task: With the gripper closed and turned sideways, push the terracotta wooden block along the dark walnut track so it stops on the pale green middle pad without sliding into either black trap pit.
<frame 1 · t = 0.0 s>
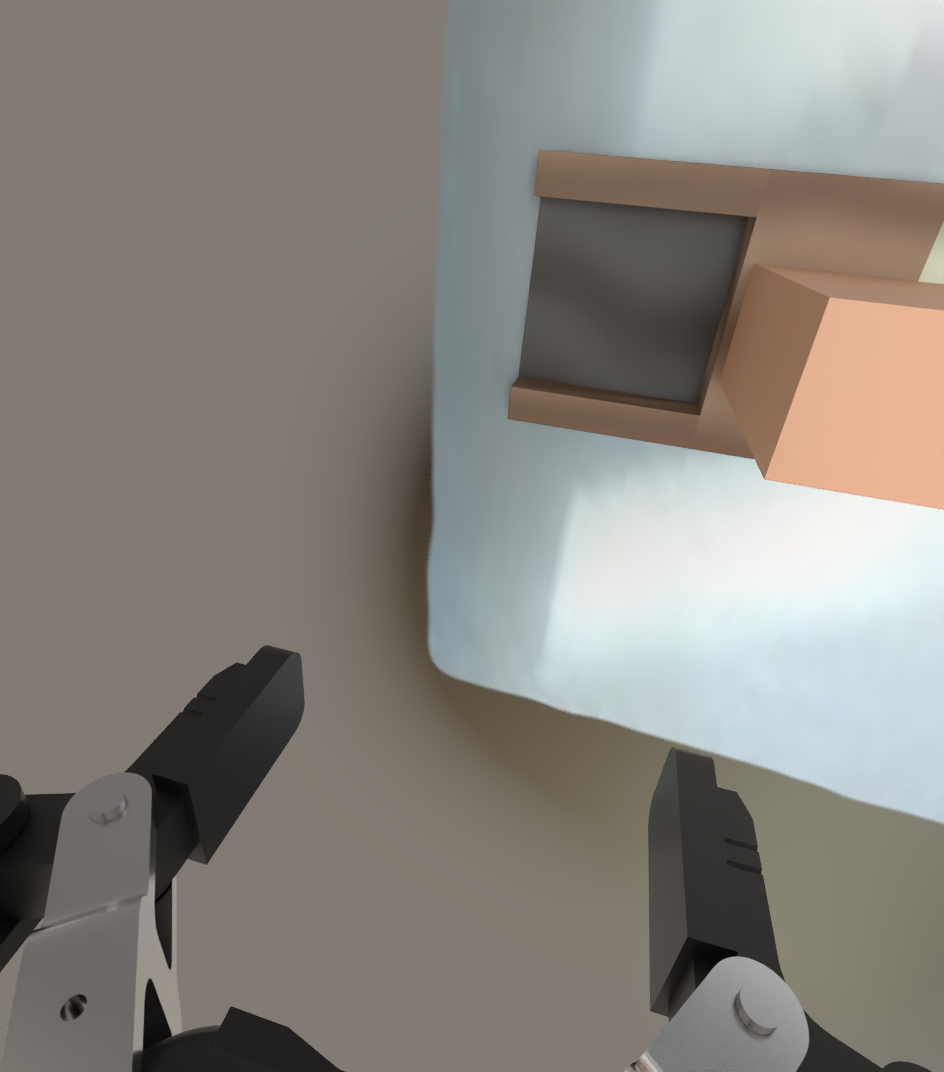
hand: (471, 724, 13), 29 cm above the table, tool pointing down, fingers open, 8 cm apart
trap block: (827, 337, 31), point 3 cm above the table, touching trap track
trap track: (871, 334, 33), on the table
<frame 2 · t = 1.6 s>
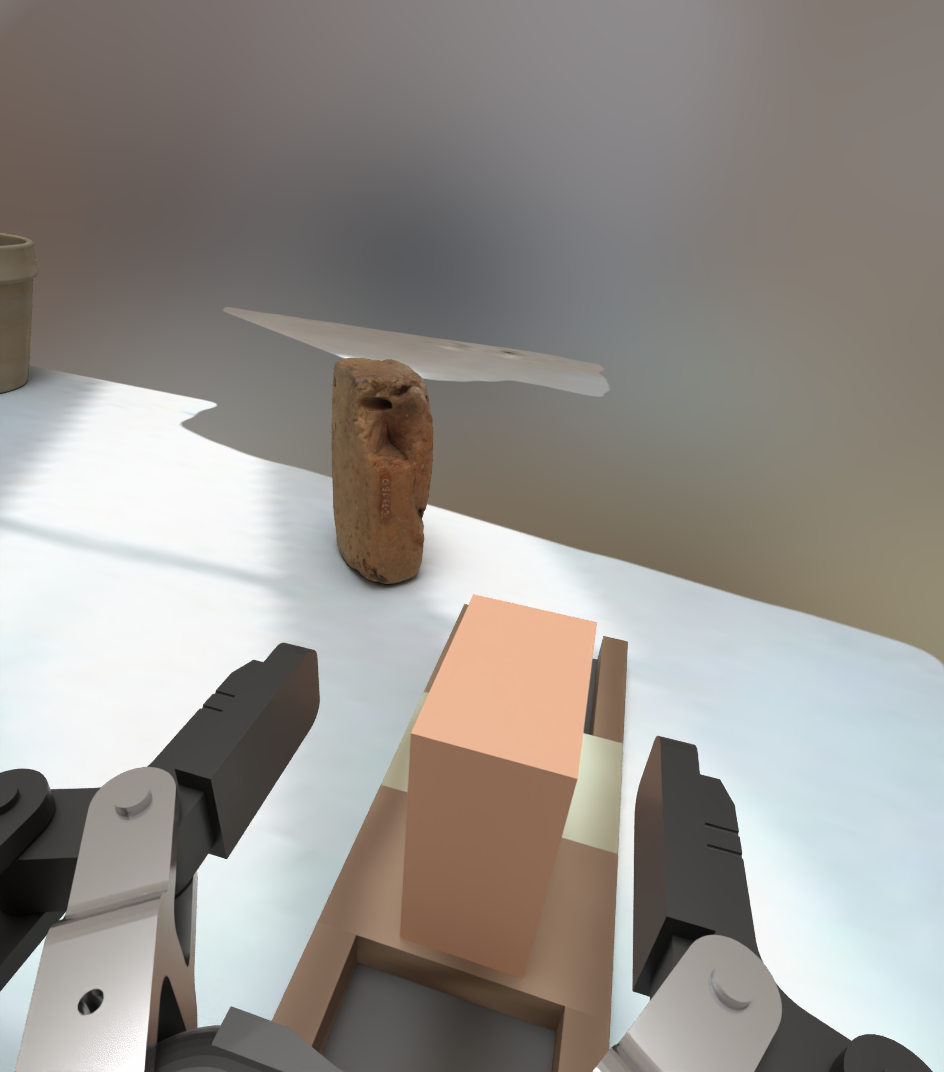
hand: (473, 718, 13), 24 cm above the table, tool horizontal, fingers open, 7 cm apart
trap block: (482, 867, 32), point 3 cm above the table, touching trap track
block: (380, 562, 62), on the table
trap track: (489, 849, 36), on the table
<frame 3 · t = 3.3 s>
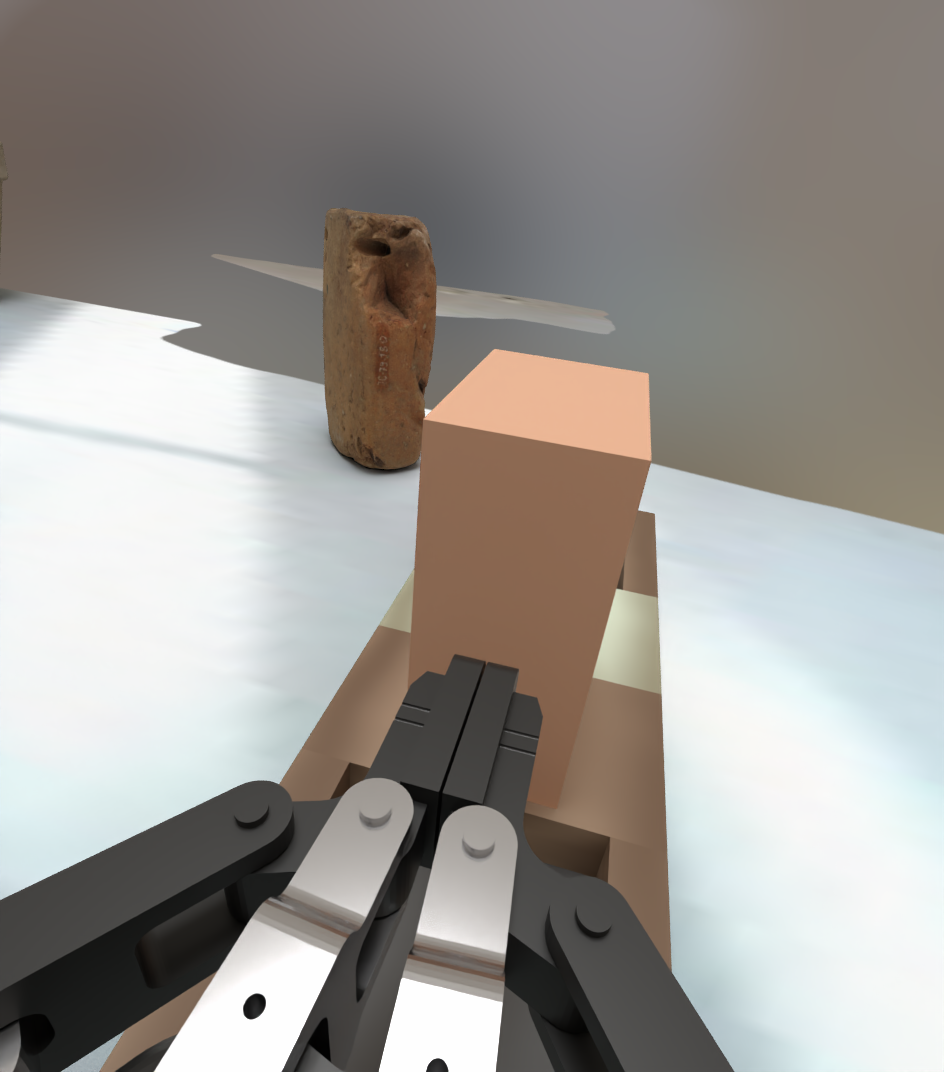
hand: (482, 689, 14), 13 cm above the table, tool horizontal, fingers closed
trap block: (502, 702, 26), point 3 cm above the table, touching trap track
block: (376, 453, 56), on the table
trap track: (506, 702, 30), on the table
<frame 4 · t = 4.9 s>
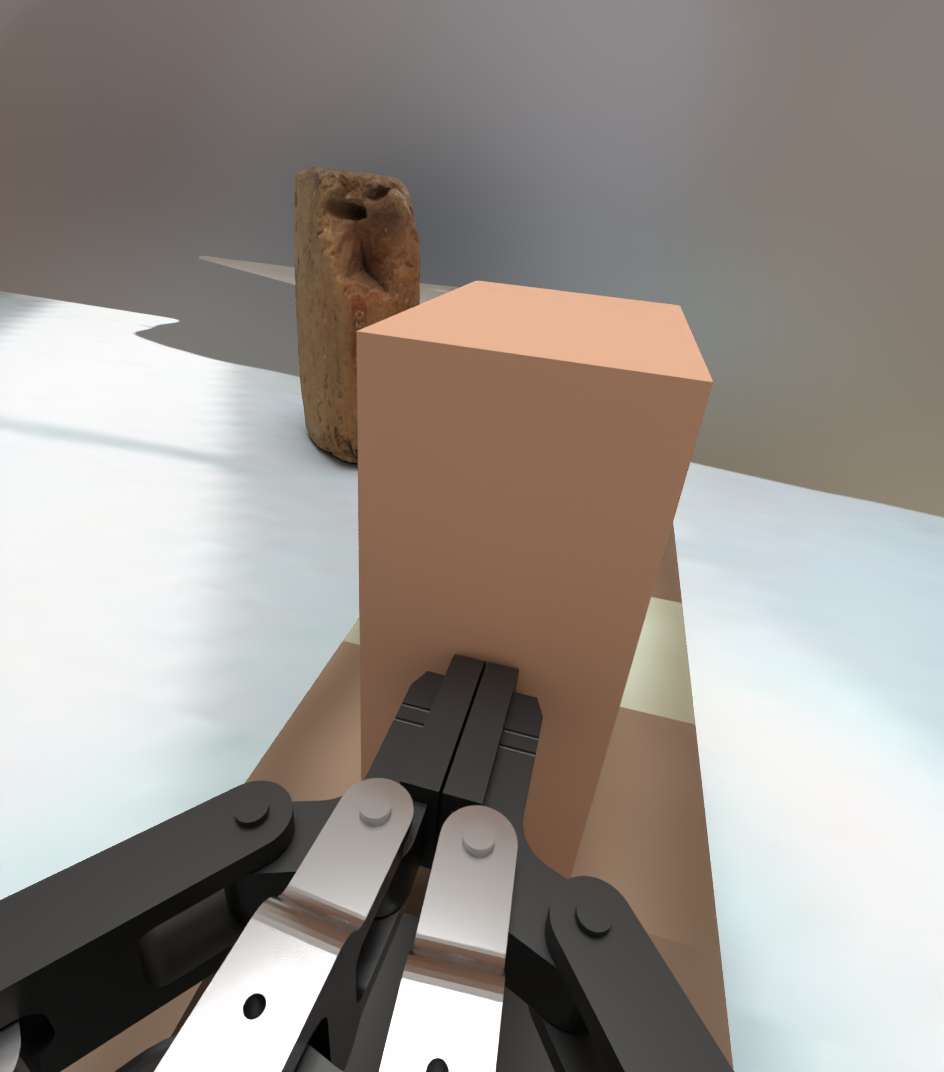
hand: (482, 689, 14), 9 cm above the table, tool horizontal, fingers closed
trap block: (494, 738, 21), point 3 cm above the table, touching gripper
block: (358, 447, 51), on the table
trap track: (501, 734, 25), on the table
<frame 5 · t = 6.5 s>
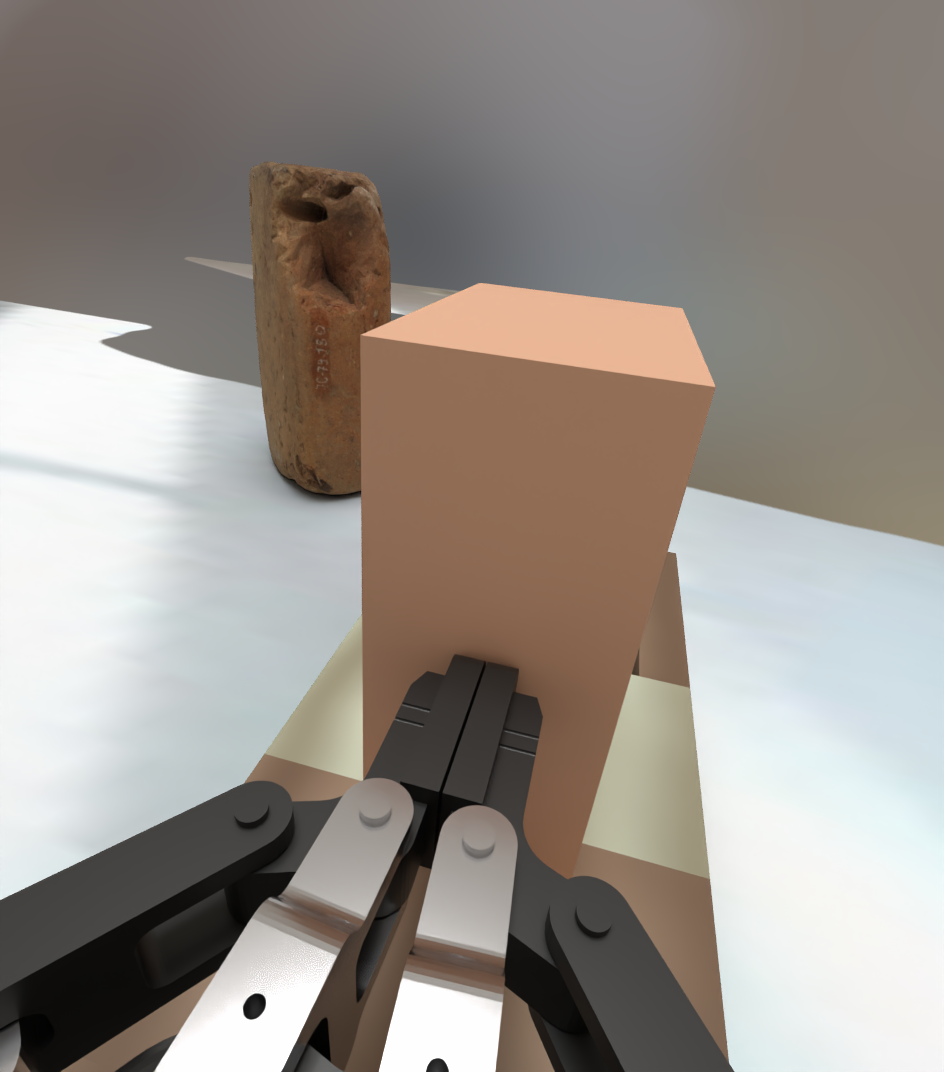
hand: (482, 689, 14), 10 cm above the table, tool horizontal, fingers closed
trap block: (495, 739, 21), point 3 cm above the table, touching gripper, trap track
block: (327, 473, 46), on the table
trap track: (464, 869, 20), on the table
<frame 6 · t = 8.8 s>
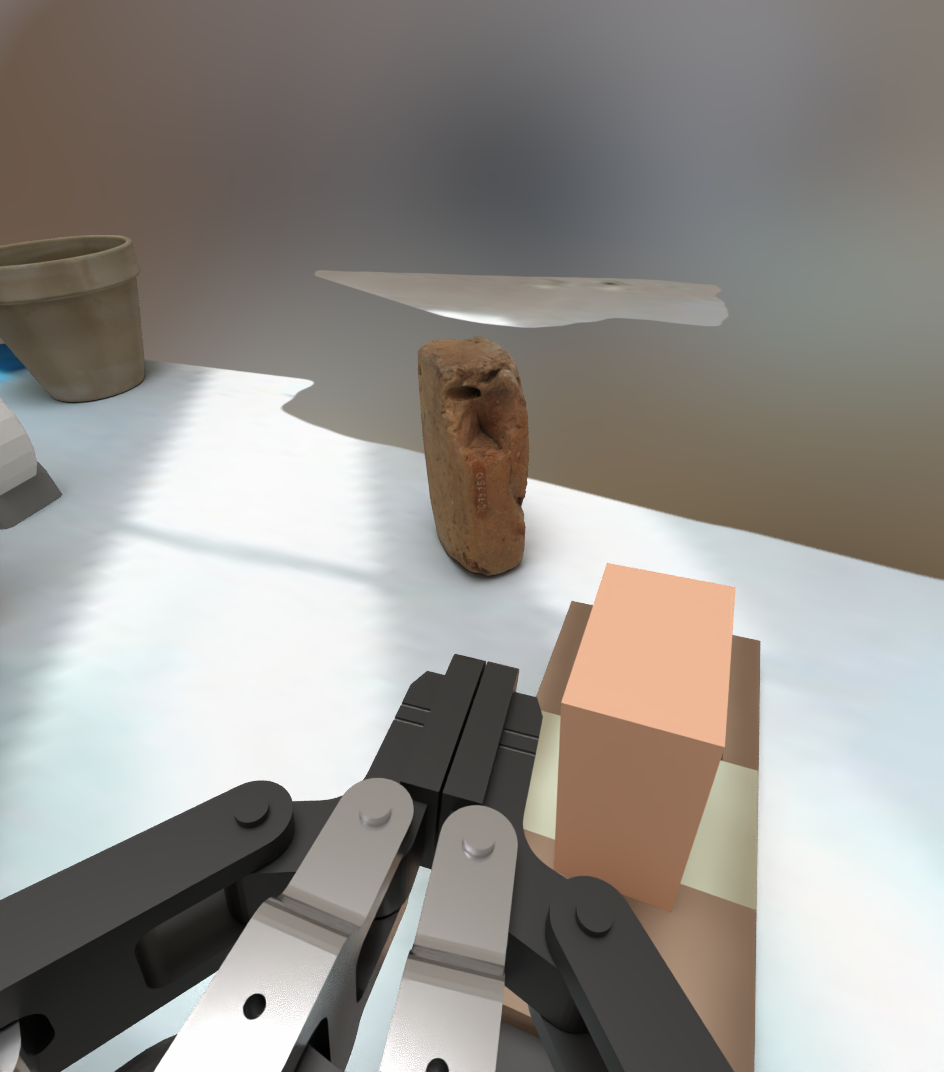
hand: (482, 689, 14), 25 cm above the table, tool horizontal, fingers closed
plant pot: (102, 386, 102), on the table
alarm clock: (1, 505, 72), on the table
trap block: (625, 810, 34), point 3 cm above the table, touching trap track
block: (481, 549, 59), on the table
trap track: (610, 885, 34), on the table
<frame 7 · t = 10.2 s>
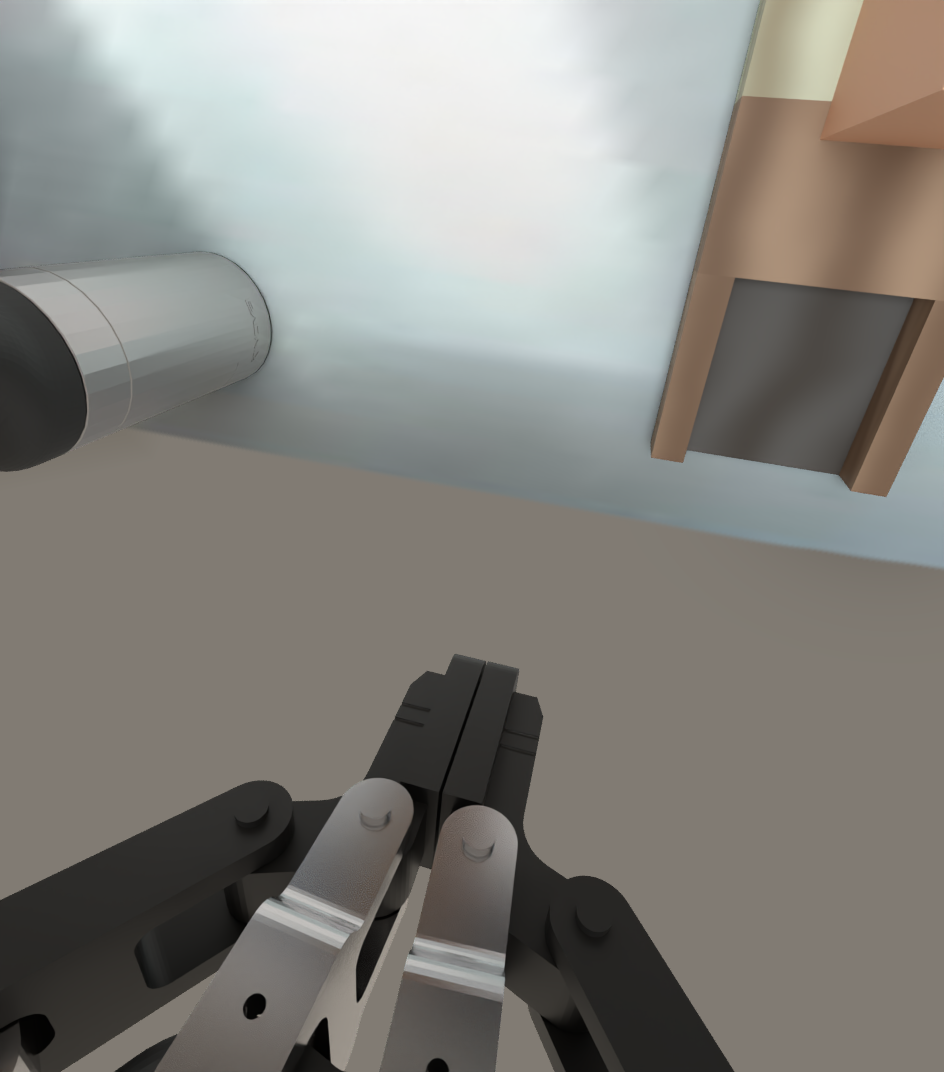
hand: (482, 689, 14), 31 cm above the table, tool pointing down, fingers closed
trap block: (930, 23, 26), point 3 cm above the table, touching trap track
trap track: (876, 114, 30), on the table
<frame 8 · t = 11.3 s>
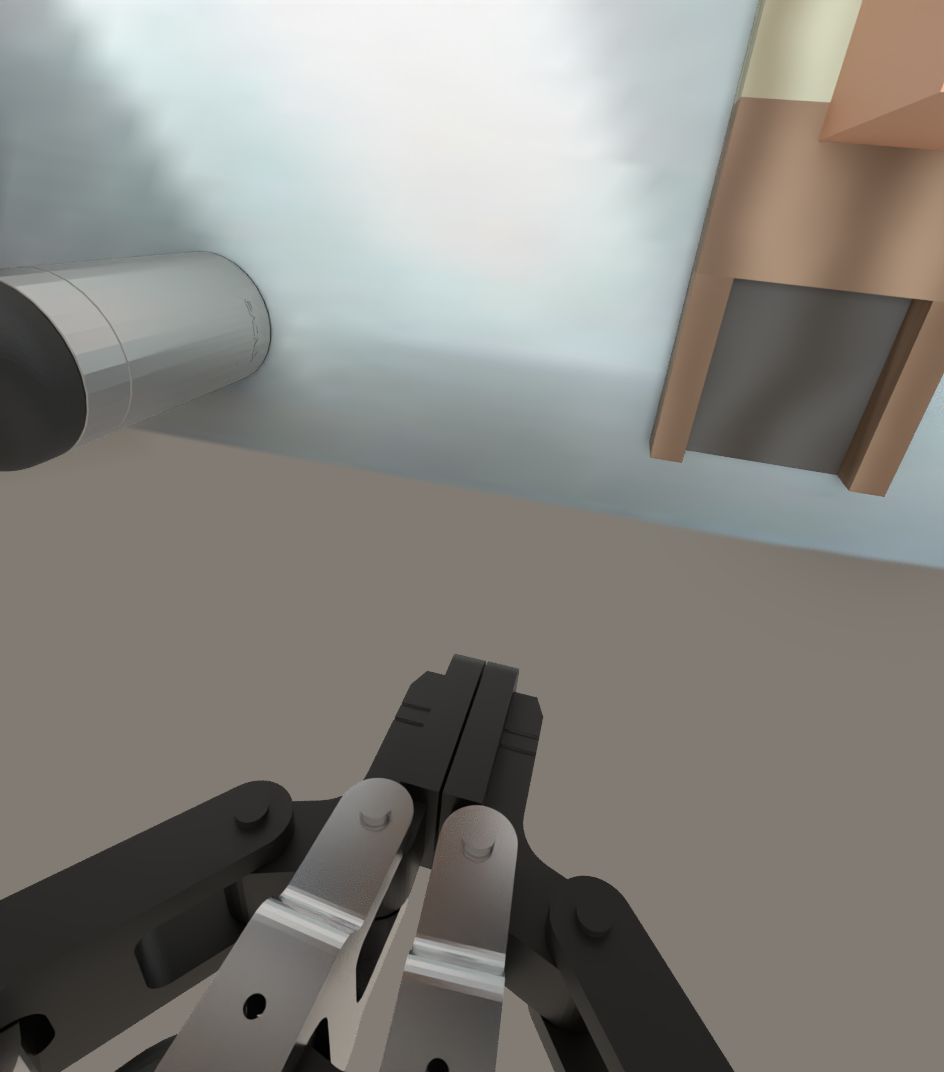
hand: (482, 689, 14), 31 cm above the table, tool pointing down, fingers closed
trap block: (928, 25, 26), point 3 cm above the table, touching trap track
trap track: (875, 115, 30), on the table
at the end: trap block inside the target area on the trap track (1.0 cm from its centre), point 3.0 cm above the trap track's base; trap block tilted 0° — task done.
